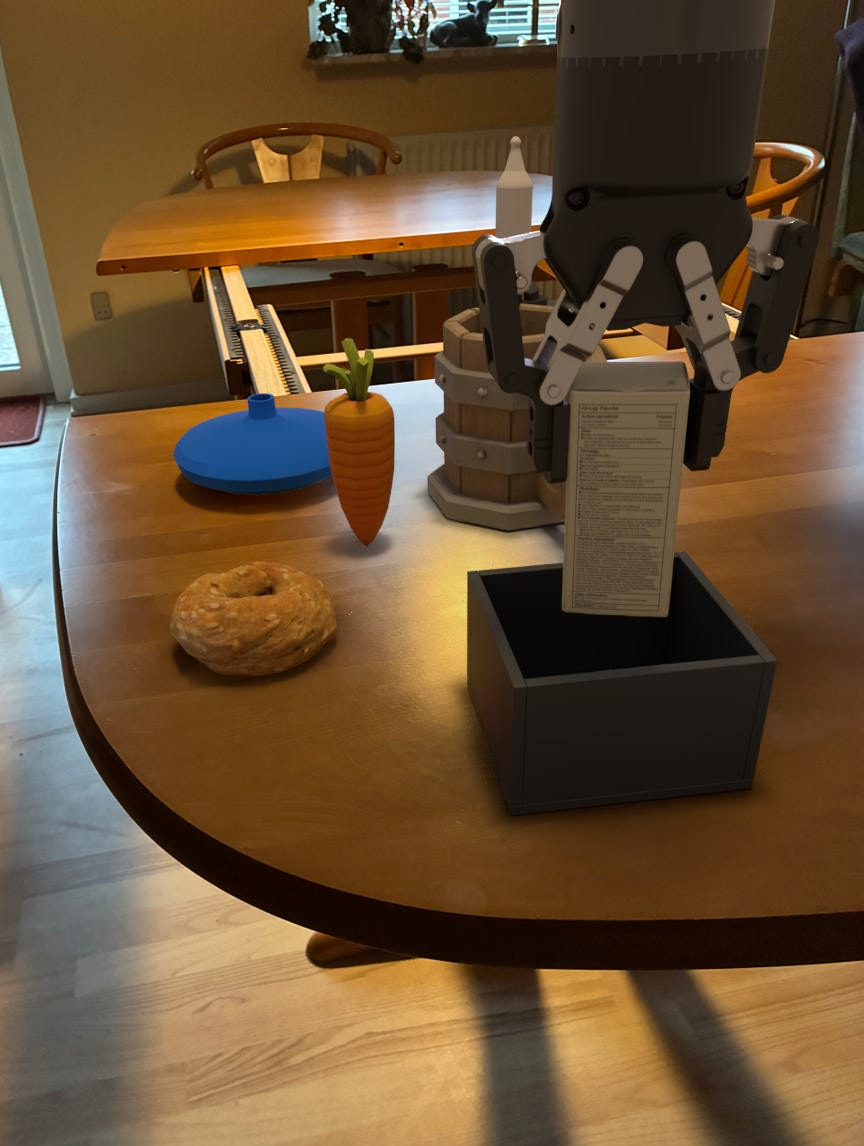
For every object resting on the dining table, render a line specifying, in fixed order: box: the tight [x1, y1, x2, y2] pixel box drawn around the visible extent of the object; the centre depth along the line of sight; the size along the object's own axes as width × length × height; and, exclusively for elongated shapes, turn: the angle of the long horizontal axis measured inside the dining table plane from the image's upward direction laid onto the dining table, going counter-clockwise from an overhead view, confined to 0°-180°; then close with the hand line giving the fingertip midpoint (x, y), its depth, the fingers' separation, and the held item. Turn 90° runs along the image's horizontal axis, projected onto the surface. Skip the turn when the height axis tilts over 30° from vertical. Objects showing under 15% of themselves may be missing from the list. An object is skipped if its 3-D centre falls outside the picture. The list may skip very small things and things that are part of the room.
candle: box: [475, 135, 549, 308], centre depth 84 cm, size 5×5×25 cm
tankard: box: [426, 304, 608, 532], centre depth 73 cm, size 20×13×15 cm, turn 14°
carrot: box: [322, 338, 396, 547], centre depth 69 cm, size 5×5×15 cm
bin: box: [466, 550, 778, 816], centre depth 51 cm, size 12×11×8 cm
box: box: [562, 360, 690, 617], centre depth 45 cm, size 5×4×11 cm
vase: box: [172, 392, 333, 496], centre depth 83 cm, size 16×16×7 cm
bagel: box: [169, 561, 338, 677], centre depth 61 cm, size 10×11×5 cm
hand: (623, 469), depth 45 cm, fingers closed on box, 6 cm apart
